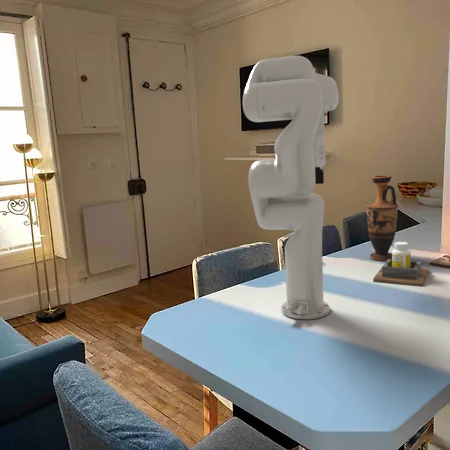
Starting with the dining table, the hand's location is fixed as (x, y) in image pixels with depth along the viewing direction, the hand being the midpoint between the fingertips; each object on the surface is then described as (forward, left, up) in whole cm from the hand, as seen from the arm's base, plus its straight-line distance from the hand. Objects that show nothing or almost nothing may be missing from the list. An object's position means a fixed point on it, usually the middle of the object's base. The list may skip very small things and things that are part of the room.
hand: (313, 185), depth 141 cm
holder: (+8, -25, -30) cm, 40 cm away
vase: (+28, -15, -30) cm, 44 cm away
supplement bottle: (+8, -25, -29) cm, 39 cm away
